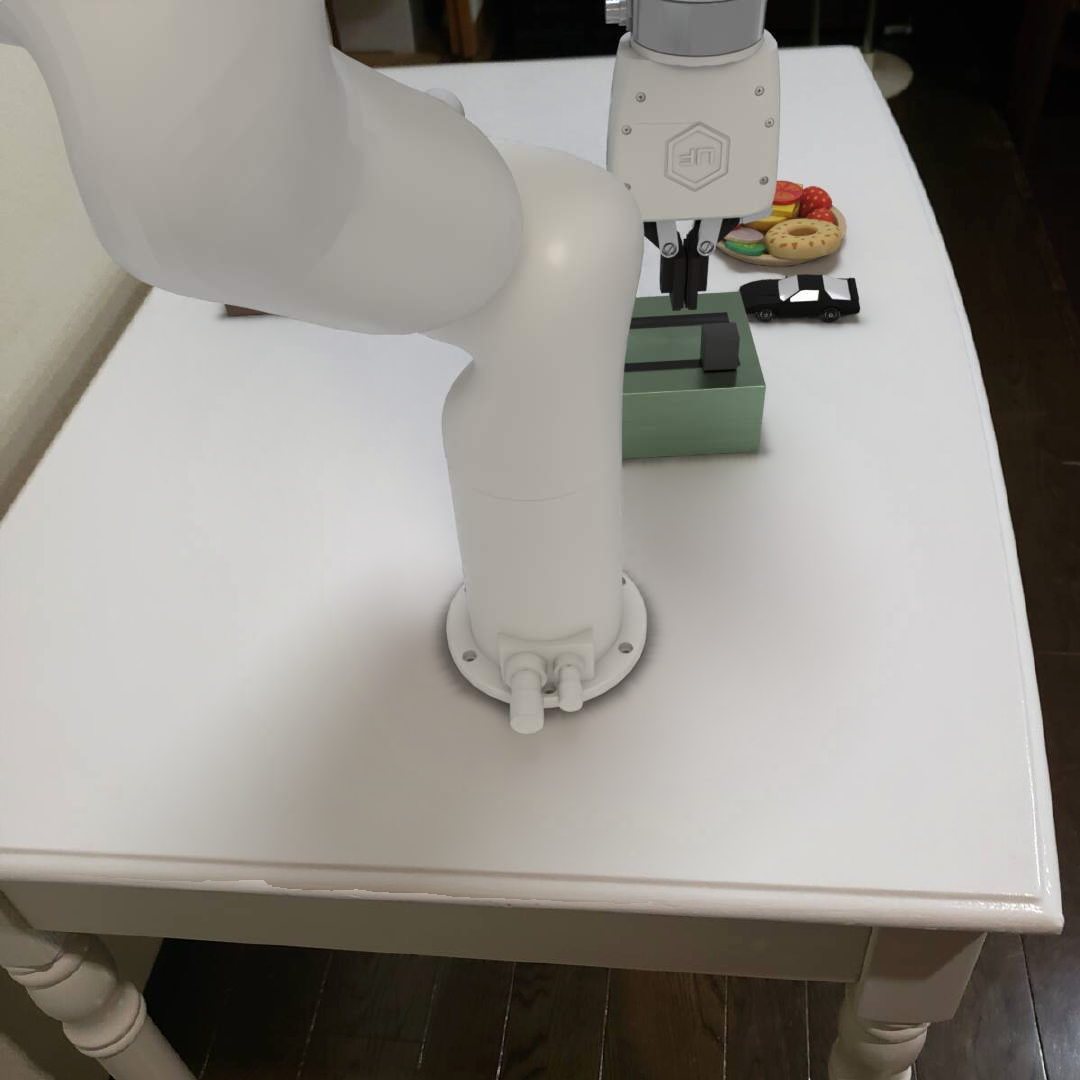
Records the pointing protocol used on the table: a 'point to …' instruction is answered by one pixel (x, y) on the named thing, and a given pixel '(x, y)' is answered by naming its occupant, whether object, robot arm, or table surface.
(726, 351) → the slider
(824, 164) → the table surface
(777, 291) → the toy car
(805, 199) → the toy food set
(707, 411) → the toaster
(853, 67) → the table surface
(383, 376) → the table surface
